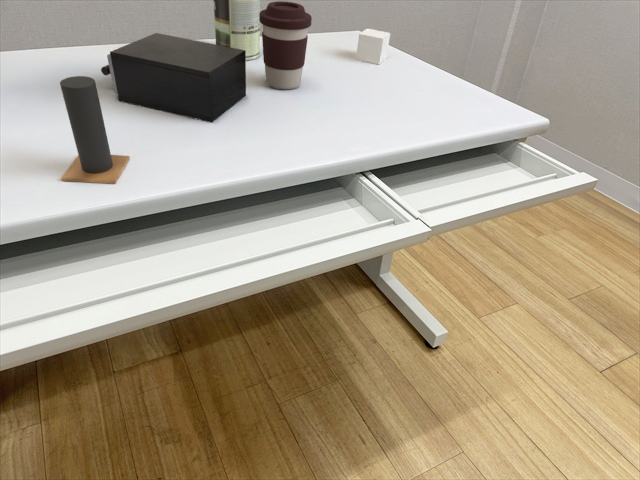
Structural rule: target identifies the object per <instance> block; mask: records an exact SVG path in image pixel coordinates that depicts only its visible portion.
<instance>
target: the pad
mask: <svg viewBox="0 0 640 480" xmlns="http://www.w3.org/2000/svg"><path fill="white" fill-rule="evenodd" d="M111 158H112V163H113V166H112V168H111V169H109V170H108V171H105V172H102V173H87V172H85V171H84V170H83V169H82V167H81V163H80V159H79V155H78V154H77V157H76V158H75V159H74V160H73V162H72V163H71V164H70V165H69V166H68V168H67V170H66V171H65V172H64V174H63V175H62V176H61V177H60V179H61V181H62V182H74V183H75V182H76V183H92V184H110V185H116V183H117V182H118V180H119V178H120V176H121V175H122V173H123V172H124V170H125V169H126V167H127V165H128V163H129V161H130V160H131V159H130V158H131V157H130V155H124V154H123V155H121V154H120V155H119V154H111Z"/></svg>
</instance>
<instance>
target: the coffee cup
mask: <svg viewBox="0 0 640 480" xmlns="http://www.w3.org/2000/svg"><path fill="white" fill-rule="evenodd" d="M305 9H306V8H305V7H304V5H302V4H301V3H297V2H293V1H285V0H284V1H281V0H279V1H278V0H277V1H272V2H268V4H267V6H266V8H265V9H263V10H260V13H259V20H260V24H261V25H262V32H261V40H262V54H263V55H262V56H263V57H262V59H263V60H262V61H263V64H264V77H265V84H267V86H269V87H271V88H273V89H276V90H294V89H296V88H299V87H300V85H301V84H302V78H303V70H304V69H303V68H304V66H305V61H306V56H307V55H306V53H307V46H308V39H309V37H308V36H309V35H308V30H309V28H310V27H311V26H312V18H313V17H312V15H311V14H310V13H308V12H306V10H305Z"/></svg>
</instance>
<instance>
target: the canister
mask: <svg viewBox="0 0 640 480" xmlns="http://www.w3.org/2000/svg"><path fill="white" fill-rule="evenodd" d="M59 85H60V89H61V93H62V97H63V101H64V104H65V108H66V112H67V116H68V120H69V124H70V128H71V133H72V135H73V139H74V142H75V146H76V151H77V156H78V155H79V159H80V163H81V167H82V169H83V170H84V171H85V172H87V173H102V172H105V171H108V170H109V169H111V168H112V166H113V163H112V158H111V155H112V154H111V149H110V144H109V140H108V135H107V134H108V133H107V130H106V126H105V120H104V117H103V112H102V107H101V102H100V98H99V91H98V88H97V83H96V80H95V78H92V77H90V76H84V75H79V76H78V75H77V76H76V75H75V76H68V77H66V78H63V79H61V80H60V82H59Z"/></svg>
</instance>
